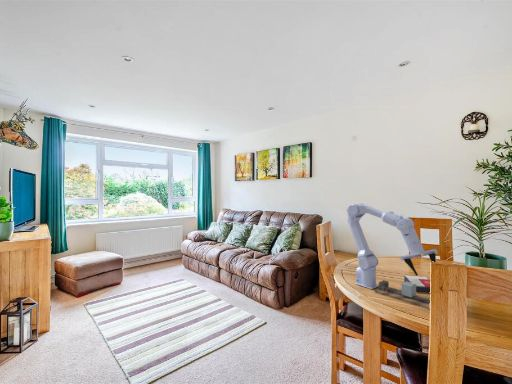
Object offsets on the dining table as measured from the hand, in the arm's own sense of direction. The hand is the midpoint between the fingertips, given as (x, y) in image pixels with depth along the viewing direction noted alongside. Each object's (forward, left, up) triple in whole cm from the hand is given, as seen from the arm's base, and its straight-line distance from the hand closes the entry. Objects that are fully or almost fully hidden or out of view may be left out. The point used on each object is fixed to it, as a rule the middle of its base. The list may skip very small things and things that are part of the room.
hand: (426, 273), depth 108 cm
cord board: (-8, 0, -13) cm, 16 cm away
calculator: (-9, +20, -14) cm, 26 cm away
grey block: (-7, 0, -11) cm, 13 cm away
